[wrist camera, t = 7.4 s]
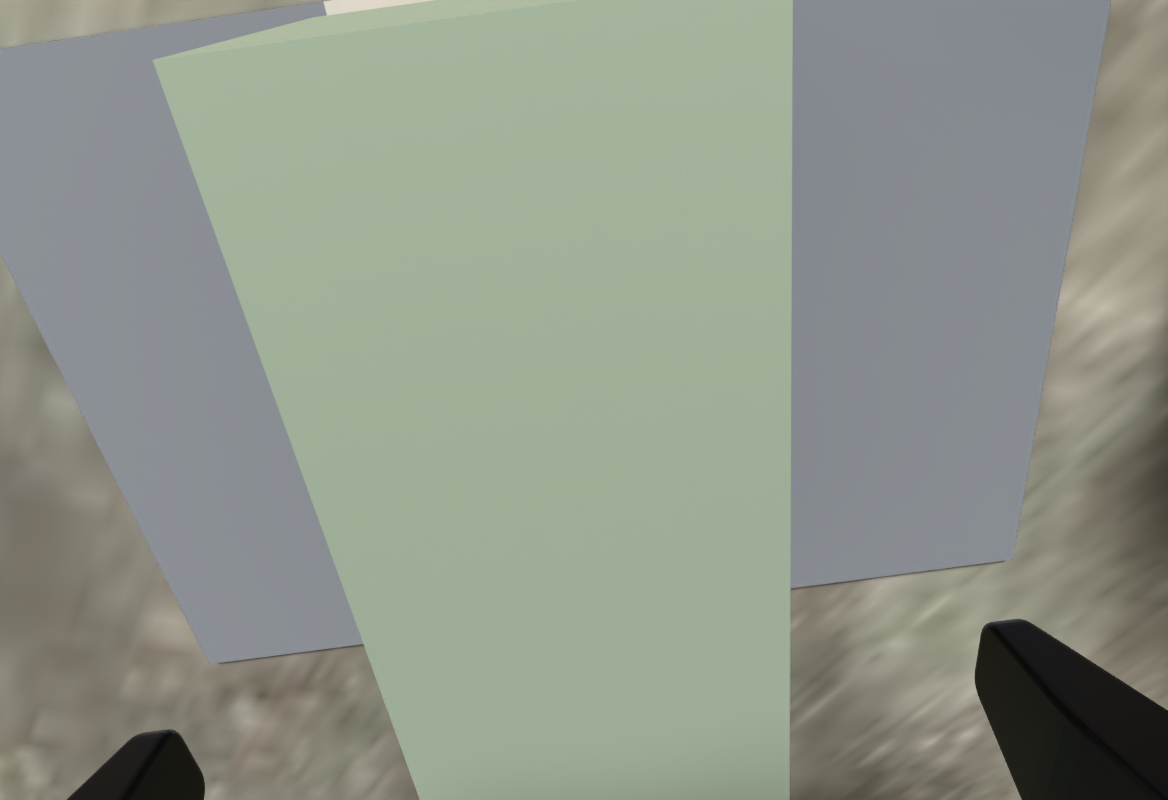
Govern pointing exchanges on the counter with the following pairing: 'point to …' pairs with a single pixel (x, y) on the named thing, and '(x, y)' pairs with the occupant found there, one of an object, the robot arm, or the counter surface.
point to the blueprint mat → (818, 323)
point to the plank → (532, 368)
